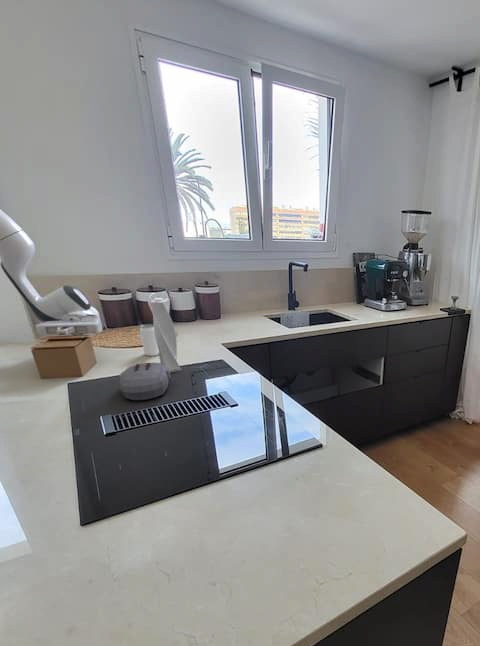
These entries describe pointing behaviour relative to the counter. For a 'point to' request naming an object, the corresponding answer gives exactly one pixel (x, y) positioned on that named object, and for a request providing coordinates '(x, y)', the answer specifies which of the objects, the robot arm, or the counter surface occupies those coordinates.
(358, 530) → the counter surface
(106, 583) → the counter surface
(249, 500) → the counter surface
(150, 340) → the can
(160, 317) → the skyscraper
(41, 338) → the flap
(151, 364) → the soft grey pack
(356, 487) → the counter surface
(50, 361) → the carton
